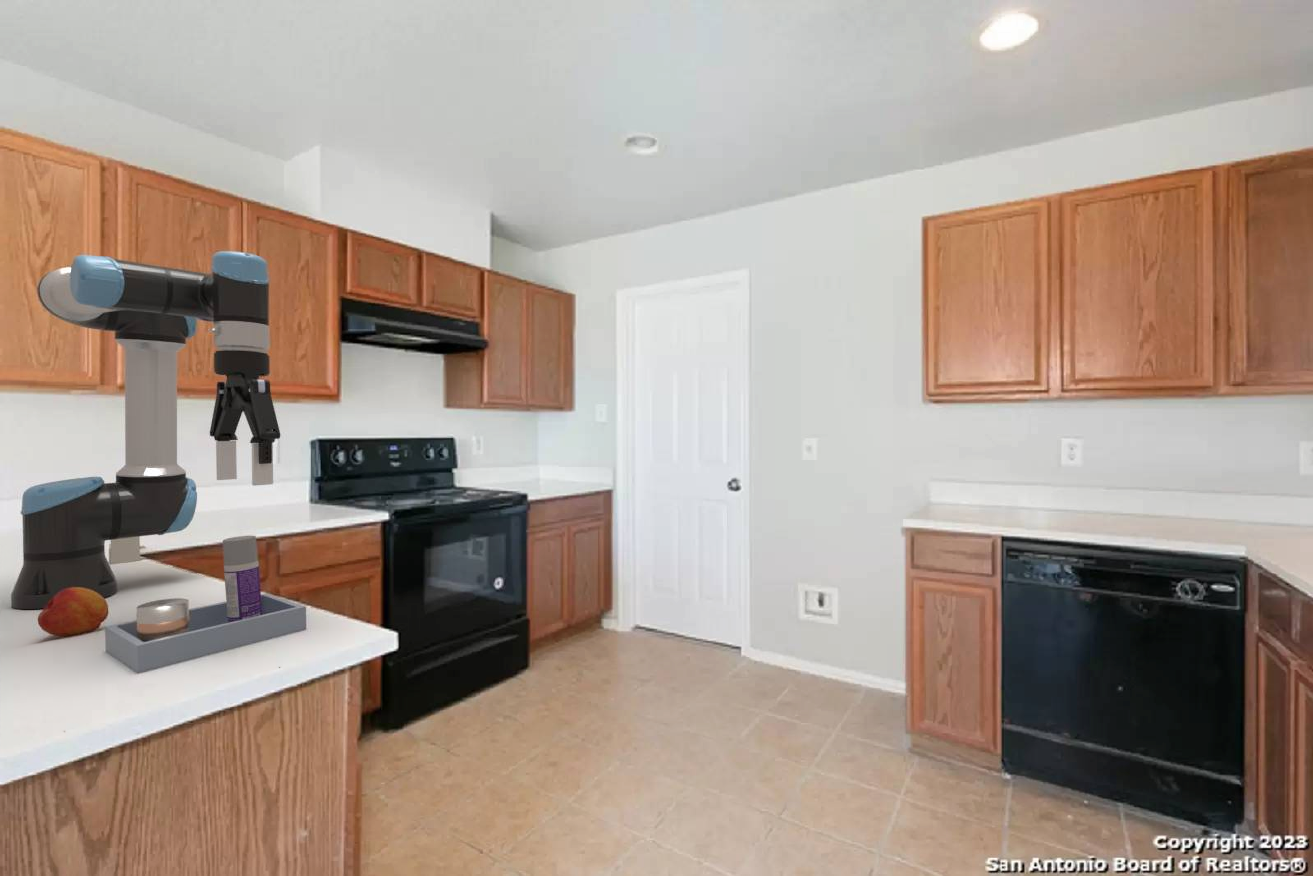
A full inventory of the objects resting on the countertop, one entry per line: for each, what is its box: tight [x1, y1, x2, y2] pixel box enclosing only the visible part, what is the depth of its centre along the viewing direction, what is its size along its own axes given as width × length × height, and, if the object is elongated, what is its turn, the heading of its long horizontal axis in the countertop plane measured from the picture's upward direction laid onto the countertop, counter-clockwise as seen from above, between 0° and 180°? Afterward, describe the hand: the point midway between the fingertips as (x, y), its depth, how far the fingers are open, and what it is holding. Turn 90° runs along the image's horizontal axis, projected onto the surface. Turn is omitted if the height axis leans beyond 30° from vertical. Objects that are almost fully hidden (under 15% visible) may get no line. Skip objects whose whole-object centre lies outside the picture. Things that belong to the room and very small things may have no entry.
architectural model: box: [108, 536, 147, 566], centre depth 156 cm, size 3×7×7 cm, turn 137°
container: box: [222, 535, 262, 623], centre depth 101 cm, size 5×5×15 cm
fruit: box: [37, 587, 109, 638], centre depth 102 cm, size 8×8×8 cm
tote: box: [104, 592, 307, 674], centre depth 98 cm, size 14×22×4 cm, turn 145°
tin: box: [136, 597, 190, 642], centre depth 93 cm, size 6×6×7 cm
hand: (244, 482), depth 102 cm, fingers open, 13 cm apart
